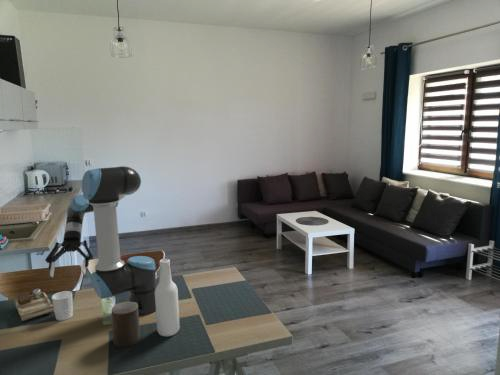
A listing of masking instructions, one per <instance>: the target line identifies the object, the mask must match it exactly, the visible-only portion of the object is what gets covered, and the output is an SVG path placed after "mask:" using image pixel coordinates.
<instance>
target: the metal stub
mask: <svg viewBox="0 0 500 375" xmlns="http://www.w3.org/2000/svg"><path fill="white" fill-rule="evenodd" d="M41 292H42V291H41V288H35V289H33V290H32V295H33V296H34V300H37V299H40V298H41Z"/></svg>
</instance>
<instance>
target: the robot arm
mask: <svg viewBox="0 0 500 375" xmlns="http://www.w3.org/2000/svg"><path fill="white" fill-rule="evenodd" d="M141 184H142V180H141V176H140V174H139V173H138V172H137V171H136V170H135V169H134V168H132V167H129V166H124V165H123V166H121V165H120V166H116V167H115V166H113V167H103V168H102V167H101V168H98V167H97V168H92V169H88V170H86V171H85V172H84V174H83V176H82V180H81V192H82V194H81V193H79V194H76V195H74V196H73V198H72V199H71V201H70V204H69V205H68V208H67V211H66V219H65V220H66V221H65V228H64V234H63V240H62V242H61V243H59V242H55V244H54V246H53V248H52V250H51V251H50V252H49V254H48V255H47V256H46V258H45V262H46V263H47V264H48V270H49V277H50V278H54V274H55V267H56V262H57V260H59V259H60V257H62V256H63V255H64V254H66V253H70V252H71V253H73V252H74V253H75V252H78V253H79V254H80V255H81V256H82V257H83V259H82V270H81V272H82V275H86V270H87V268H88V267H89V262H90V260H93V259H94V256H93V254H92V253H91V250H90V249H89V246H88V242H87V240H86V239H85V240H83V241H81V240H82V232H83V231H82V230H83V223H84V217H85V214H87V213H93V217H94V218H93V220H94V227H95V228H94V230H95V238H96V239H95V240H96V248H97V249H96V250H97V258H98V261H97V264H96V265H95V267H94V270H95V271H93V272H92V273H91V274H90V281H91V285H92V287H93V289H94V292H95V293H96V295H97V297H99V298H100V299H104V300H105V299H107V298H113V297H114V296H115V297H116V296H118V295H121V294H124V293H126V292H129V294H128V299H127V302H135V303H137V305H138V315H139V316H143V315H148V314H151V313H152V314H153V313H155V312H156V304H155V288H156V286H157V273H156V272H157V271H156V270H157V267H156V262H155V259H153V258H152V257H149V256H146V255H145V256H144V255H138V256H137V255H134V256H131V257H129V258H127V261H126V263H125V261H124V260H122V259H121V250H120V249H121V248H120V240H119V239H120V237H119V229H118V228H119V227H118V215H117V207H118V205H119V202H120V201H121V200H122V199H124V198H125V197H126V196H130V195H133V194H134V193H135V192H137V191H138V190H139V188H140V187H141ZM81 246H82V247H84V249H85V250H86V253H87V254H88V256H87V254H86V253H85V252H84V251H83V250H82V248H80V247H81ZM59 249H60V250H59Z"/></svg>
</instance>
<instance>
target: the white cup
mask: <svg viewBox="0 0 500 375" xmlns="http://www.w3.org/2000/svg"><path fill="white" fill-rule="evenodd" d="M73 300H74V299H73V292H72V291H70V290H63V291H60V292H56V293H54V294H52V295H51V301H52V302H51V303H52V305H53V309H54V311H53V312H54V317H55V319H56V320H57V321H66V320H69V319H70V318H73V314H74V304H73V303H74V302H73Z"/></svg>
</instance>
